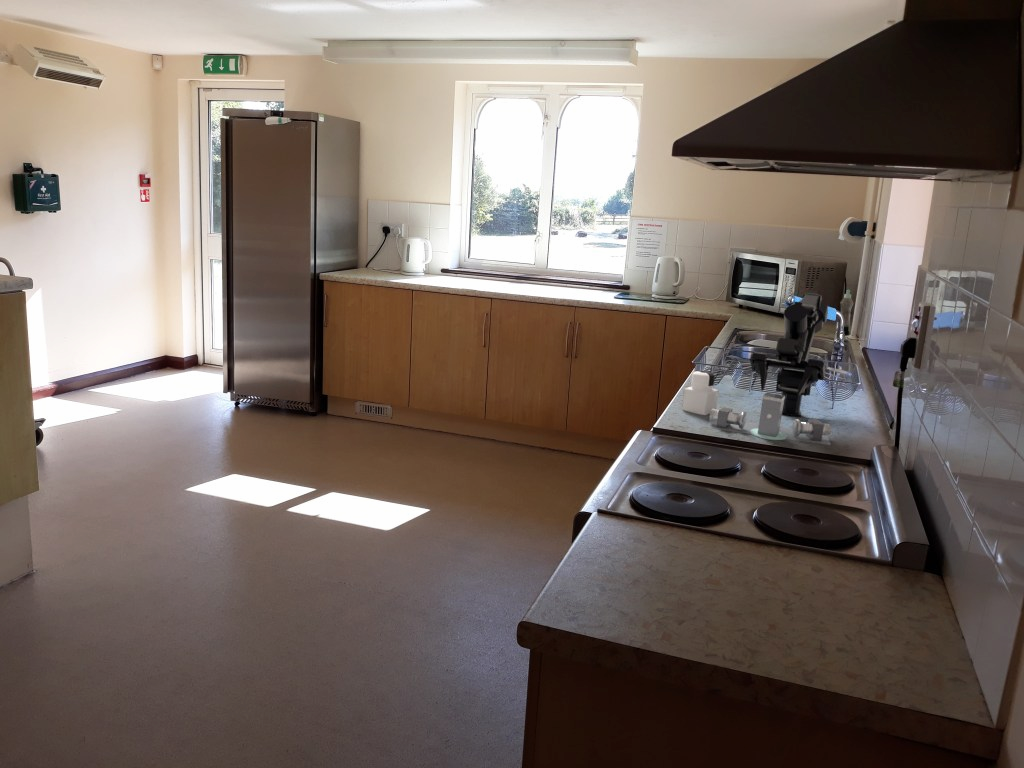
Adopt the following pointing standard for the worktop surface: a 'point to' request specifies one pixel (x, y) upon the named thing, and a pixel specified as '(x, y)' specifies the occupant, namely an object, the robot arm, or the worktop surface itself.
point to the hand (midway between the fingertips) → (780, 392)
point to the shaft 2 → (811, 429)
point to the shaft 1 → (727, 418)
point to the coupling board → (783, 434)
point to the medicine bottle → (700, 394)
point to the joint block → (771, 414)
